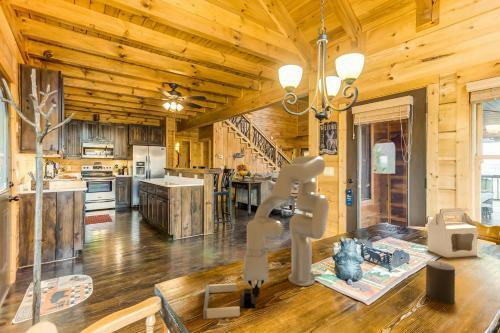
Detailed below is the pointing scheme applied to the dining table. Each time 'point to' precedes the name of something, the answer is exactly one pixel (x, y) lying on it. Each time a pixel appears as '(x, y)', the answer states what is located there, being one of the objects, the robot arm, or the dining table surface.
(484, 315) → the dining table surface
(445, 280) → the pillar candle
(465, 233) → the gable box
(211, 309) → the u-shaped wooden bracket
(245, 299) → the black boxy piece
